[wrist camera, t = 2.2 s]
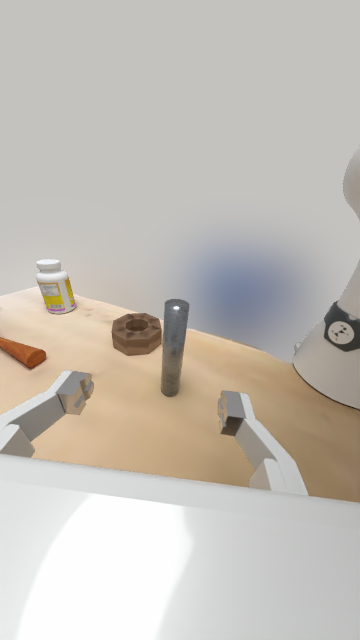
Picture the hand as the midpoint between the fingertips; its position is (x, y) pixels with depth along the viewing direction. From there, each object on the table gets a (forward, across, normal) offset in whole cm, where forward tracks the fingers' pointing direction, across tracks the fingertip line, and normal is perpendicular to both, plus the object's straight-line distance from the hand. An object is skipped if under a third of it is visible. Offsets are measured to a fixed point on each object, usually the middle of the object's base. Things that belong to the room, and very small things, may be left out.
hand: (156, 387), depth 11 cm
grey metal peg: (+12, 0, +16) cm, 20 cm away
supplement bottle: (+34, +32, +16) cm, 50 cm away
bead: (+24, +8, +16) cm, 30 cm away
